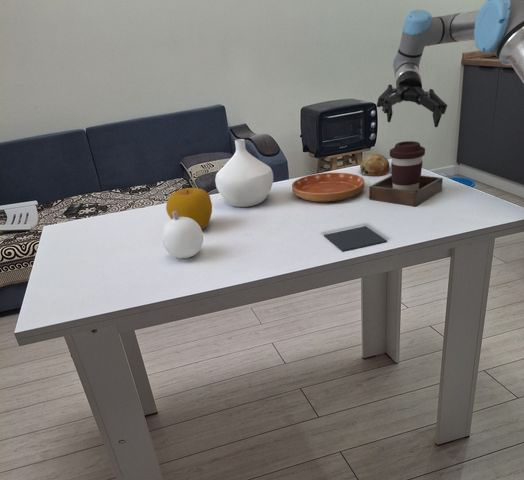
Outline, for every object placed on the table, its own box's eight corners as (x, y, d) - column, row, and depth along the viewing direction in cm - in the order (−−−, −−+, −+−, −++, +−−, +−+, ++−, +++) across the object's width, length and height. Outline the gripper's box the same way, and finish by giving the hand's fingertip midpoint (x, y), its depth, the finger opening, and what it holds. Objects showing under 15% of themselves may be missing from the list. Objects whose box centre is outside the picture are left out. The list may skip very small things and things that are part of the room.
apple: (212, 235, 151) (205, 194, 145) (167, 238, 152) (159, 198, 146) (218, 219, 162) (212, 181, 156) (176, 222, 163) (168, 185, 157)
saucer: (340, 178, 184) (340, 167, 182) (378, 194, 166) (379, 182, 164) (280, 192, 178) (279, 181, 176) (313, 210, 159) (313, 198, 157)
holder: (441, 191, 162) (442, 177, 160) (415, 206, 153) (416, 192, 151) (395, 185, 172) (396, 172, 170) (369, 199, 163) (369, 186, 161)
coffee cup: (405, 202, 157) (407, 149, 149) (381, 196, 164) (382, 145, 156) (429, 194, 161) (433, 142, 153) (405, 188, 168) (407, 138, 160)
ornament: (158, 259, 140) (148, 215, 133) (187, 246, 146) (178, 202, 139) (185, 267, 134) (176, 221, 127) (213, 252, 140) (206, 207, 133)
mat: (365, 227, 144) (365, 225, 144) (386, 242, 134) (387, 240, 134) (324, 236, 142) (324, 234, 141) (342, 251, 132) (342, 250, 132)
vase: (231, 193, 183) (223, 134, 173) (282, 193, 177) (277, 132, 166) (209, 211, 169) (199, 148, 158) (264, 212, 163) (257, 146, 152)
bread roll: (357, 183, 190) (351, 164, 184) (374, 163, 192) (368, 145, 187) (380, 187, 183) (374, 168, 178) (397, 167, 186) (392, 147, 180)
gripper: (444, 98, 168) (452, 136, 156) (365, 90, 168) (367, 127, 156) (452, 74, 162) (462, 112, 150) (370, 66, 162) (373, 103, 150)
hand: (413, 120), depth 153 cm, fingers open, 13 cm apart
